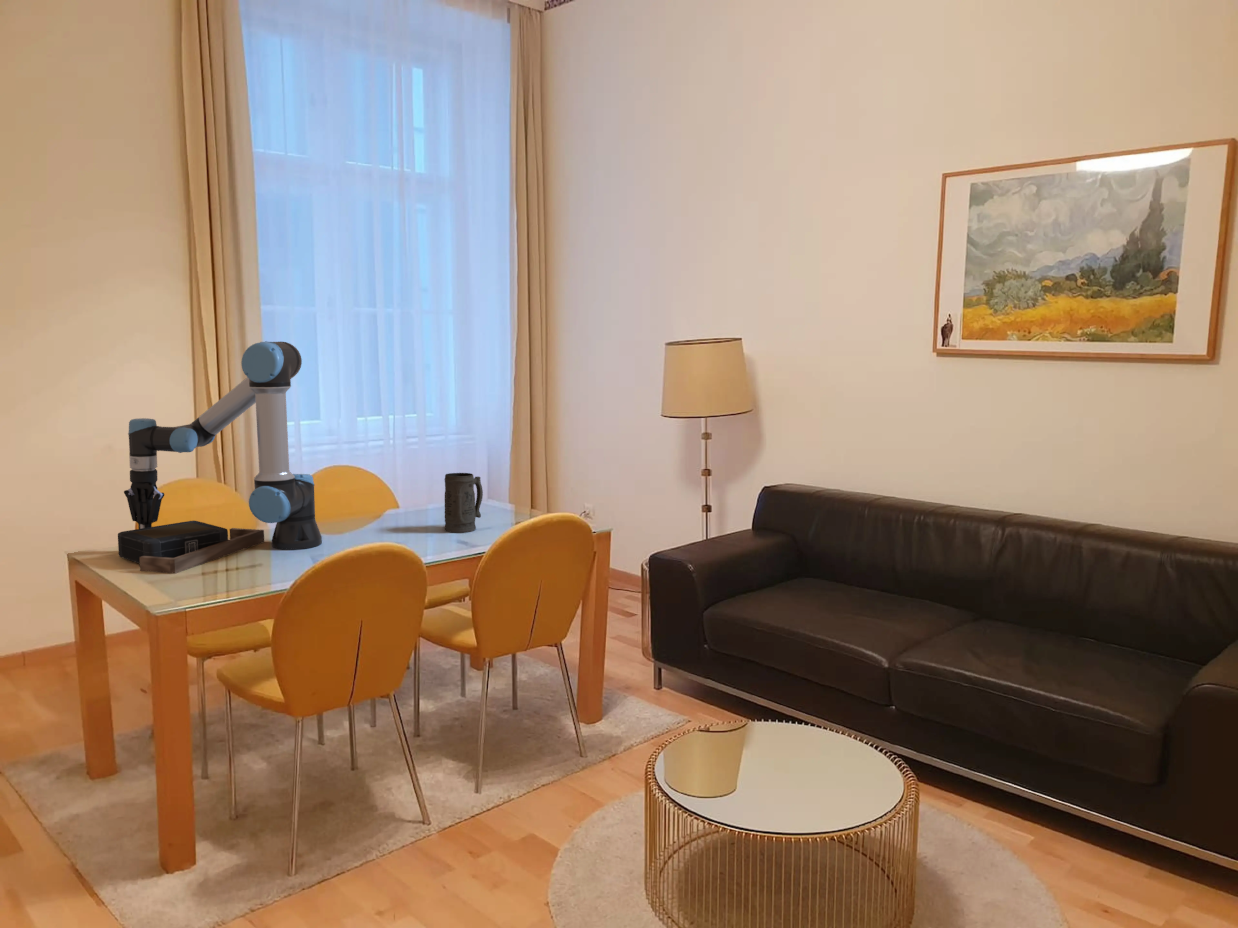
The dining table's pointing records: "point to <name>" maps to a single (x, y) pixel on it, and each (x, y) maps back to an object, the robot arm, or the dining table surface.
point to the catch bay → (204, 552)
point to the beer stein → (461, 502)
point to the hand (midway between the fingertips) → (145, 544)
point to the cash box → (169, 540)
